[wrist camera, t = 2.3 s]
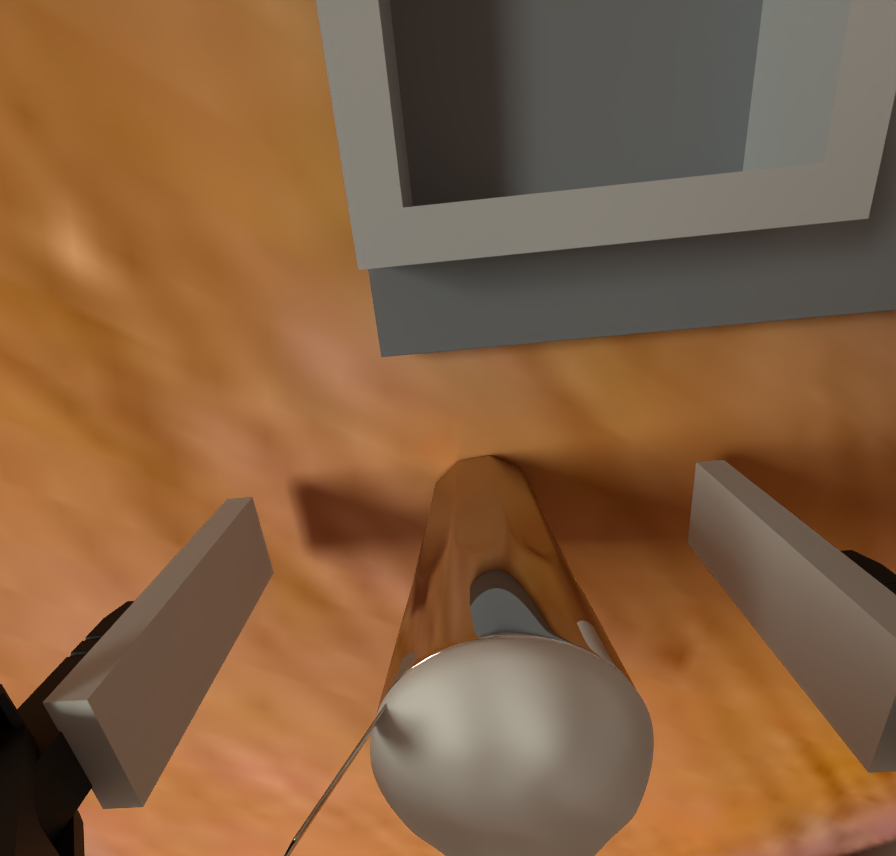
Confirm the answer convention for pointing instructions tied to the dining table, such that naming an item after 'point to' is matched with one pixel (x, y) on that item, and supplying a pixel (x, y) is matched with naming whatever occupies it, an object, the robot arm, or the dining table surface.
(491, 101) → the dock
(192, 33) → the dining table surface
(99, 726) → the robot arm
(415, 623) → the milkshake
